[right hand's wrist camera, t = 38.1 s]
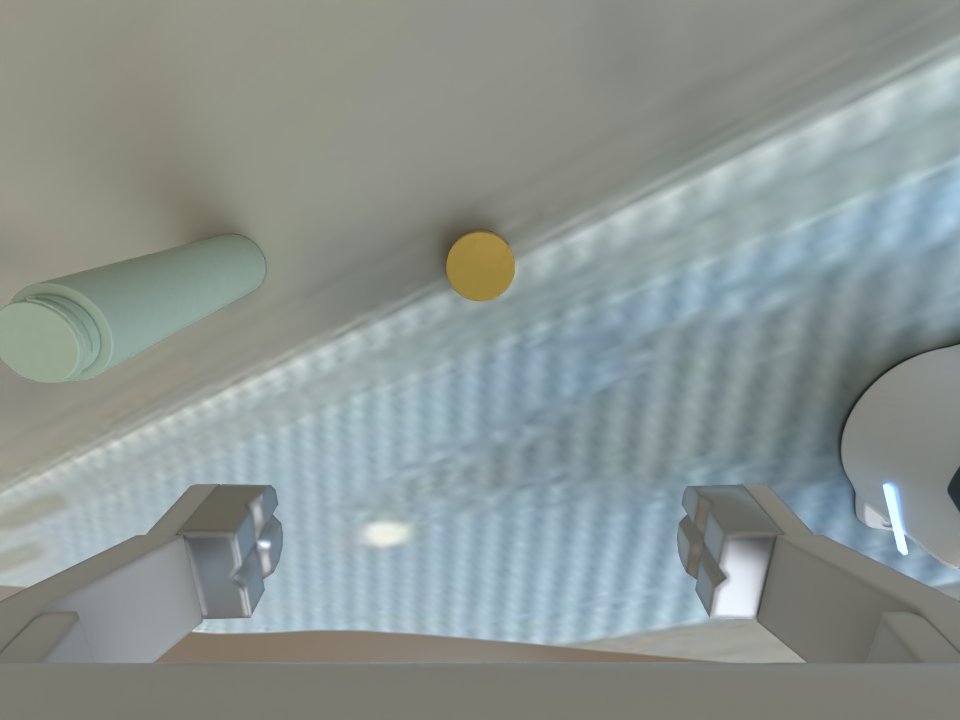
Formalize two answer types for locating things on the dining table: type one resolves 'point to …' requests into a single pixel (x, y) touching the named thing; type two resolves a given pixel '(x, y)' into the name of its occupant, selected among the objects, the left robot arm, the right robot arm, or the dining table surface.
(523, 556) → the dining table surface
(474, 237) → the lid
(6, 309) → the mint green bottle
